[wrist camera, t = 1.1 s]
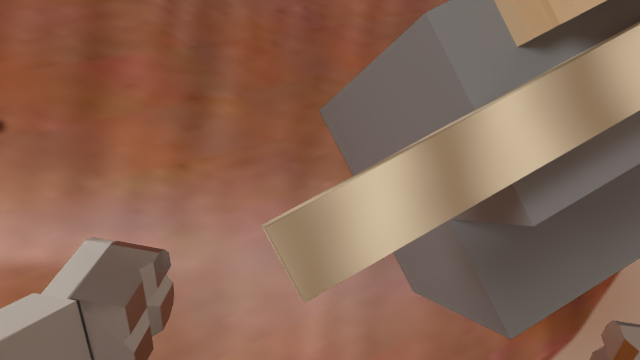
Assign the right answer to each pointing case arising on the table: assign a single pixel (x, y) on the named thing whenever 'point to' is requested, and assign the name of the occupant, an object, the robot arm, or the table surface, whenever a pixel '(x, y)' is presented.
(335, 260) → the birch strip
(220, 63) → the table surface
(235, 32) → the table surface
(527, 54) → the grey stepped block
